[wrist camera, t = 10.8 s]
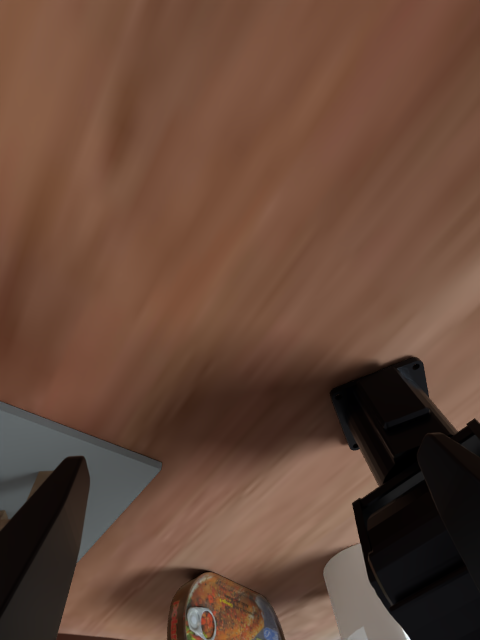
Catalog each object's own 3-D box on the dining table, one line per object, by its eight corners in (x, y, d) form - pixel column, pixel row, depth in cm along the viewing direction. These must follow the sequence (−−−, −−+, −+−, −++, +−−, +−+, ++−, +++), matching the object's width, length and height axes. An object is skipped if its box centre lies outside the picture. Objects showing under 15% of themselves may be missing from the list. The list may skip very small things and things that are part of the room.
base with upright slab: (310, 562, 36) (357, 740, 26) (394, 529, 35) (479, 703, 25) (339, 595, 40) (389, 760, 30) (414, 567, 39) (494, 729, 29)
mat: (161, 462, 26) (161, 469, 26) (75, 559, 31) (73, 566, 30) (-46, 383, 21) (-52, 390, 20) (-114, 514, 26) (-120, 522, 25)
